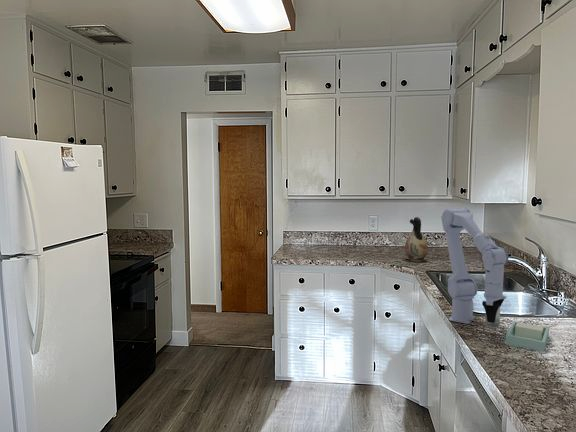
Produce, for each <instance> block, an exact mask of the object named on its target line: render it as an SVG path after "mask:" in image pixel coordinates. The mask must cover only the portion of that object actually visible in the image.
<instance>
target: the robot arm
mask: <svg viewBox="0 0 576 432" xmlns="http://www.w3.org/2000/svg"><path fill="white" fill-rule="evenodd" d="M440 218H441V223H442V229H443V231H444V234H445V240H446V245H447V250H448V255H449V260H450V266H451V271H452V274H451V275H450V276H449V278H448V279H447V292H448V294H449V296H450V297H451V298H452V300H451V303H452V304H451V316H450V317H449V318H448V321H451V322H456V323H459V324H460V323H462V324H465V325H466V324H467V325H470V323H471V322H472V320H473V319H475V317H476V316H474V301H473V299H474V298H475V296H477V294H478V291H479V290H478V289H479V288H478V285H477V282H475V277H474V276H473V275H472V274H470V273H469V272H468V269H467V265H466V259H465V255H464V249H463V245H462V241H461V240H462V239H461V235H460V233H461V232H462V231H463V230H465V231H466V233H468V234H469V235H470V236H471V237H472V238H473V241H472V243H473V245H474V246H475V247H476V249H478V251H479V252H480V254H481V255H482V256H481V260H482V262H483V268H484V270H485V275H484V276H485V277H484V293H483V297H484V299H485V300H482V301H481V304H482V306H483V308H484V311H485V315H486V317H487V321H488V322H491V323H494V322H495V319H496V314H497V311H498V308H499V307H500V308H501V306H502V305H503V302H504V301H505V299H507V295H503V294H504V276H505V275H504V272H505V271H504V270H505V265H506V264H507V263H508V261H509V253H508V251H507V250H506V248H504V247H500V246H498V245H497V244H496V243H495V242H494V240H493V239H492V238H491V236H490V235H489V233H488V234H487V233H485V232H482V231H481V230H480V228H479V226H478V225H477V224H476V222H475V221H474V217H473V213H472V212H471V211H470V209H469V208H466V207H465V208H452V209H451V208H445V209H444V210H443V213H442V214H441V217H440Z"/></svg>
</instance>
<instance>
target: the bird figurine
mask: <svg viewBox="0 0 576 432" xmlns="http://www.w3.org/2000/svg"><path fill="white" fill-rule="evenodd" d="M409 224H411V225H412V230H411V232H410V234H409V236H408V237H407V239H405V240H406V241H405V244H404V253H405V255H406V257H408V260H409V261H410V262H419V263H420V262H423V261H424V260H425V258H426V257H427V255H428V253H429V246H428V242H427V240H426V238H425V237H424V235H423V234H422V233H421V232H422V231H421V229H422V220H421V218H420V217H419V216H416V217H414V218H411V219H410V220H409Z"/></svg>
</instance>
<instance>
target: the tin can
mask: <svg viewBox="0 0 576 432" xmlns="http://www.w3.org/2000/svg"><path fill="white" fill-rule="evenodd" d="M500 321H501V307H499V308H498V311H497V314H496V319H495V322H494V323H491V322H488V321H487V317H486V314H485V320H484V325H485V326H487V327H491V328H499V327H500V326H501V325H500Z"/></svg>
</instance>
